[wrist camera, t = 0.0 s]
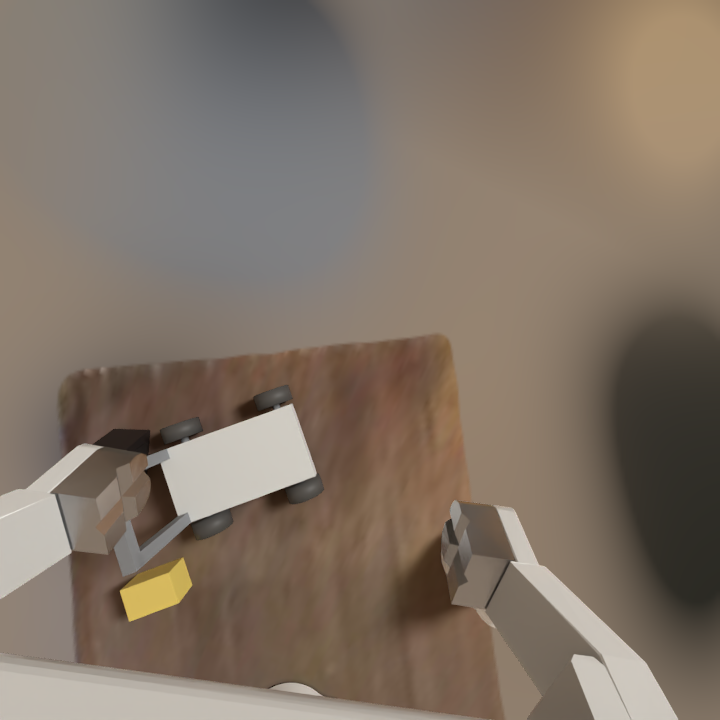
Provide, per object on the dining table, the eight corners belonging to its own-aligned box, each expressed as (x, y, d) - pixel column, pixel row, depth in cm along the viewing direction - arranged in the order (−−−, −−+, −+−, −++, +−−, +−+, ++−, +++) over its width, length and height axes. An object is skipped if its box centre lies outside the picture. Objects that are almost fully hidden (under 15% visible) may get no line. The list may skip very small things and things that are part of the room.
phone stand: (146, 482, 62) (97, 506, 50) (111, 481, 62) (53, 505, 50) (150, 429, 62) (103, 441, 50) (115, 428, 62) (59, 439, 50)
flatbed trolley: (290, 384, 64) (262, 386, 43) (325, 483, 63) (313, 535, 42) (171, 427, 62) (82, 450, 42) (204, 528, 62) (131, 604, 41)
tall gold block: (192, 584, 61) (178, 603, 56) (147, 601, 61) (129, 621, 56) (183, 556, 62) (168, 572, 57) (138, 573, 61) (119, 590, 56)
